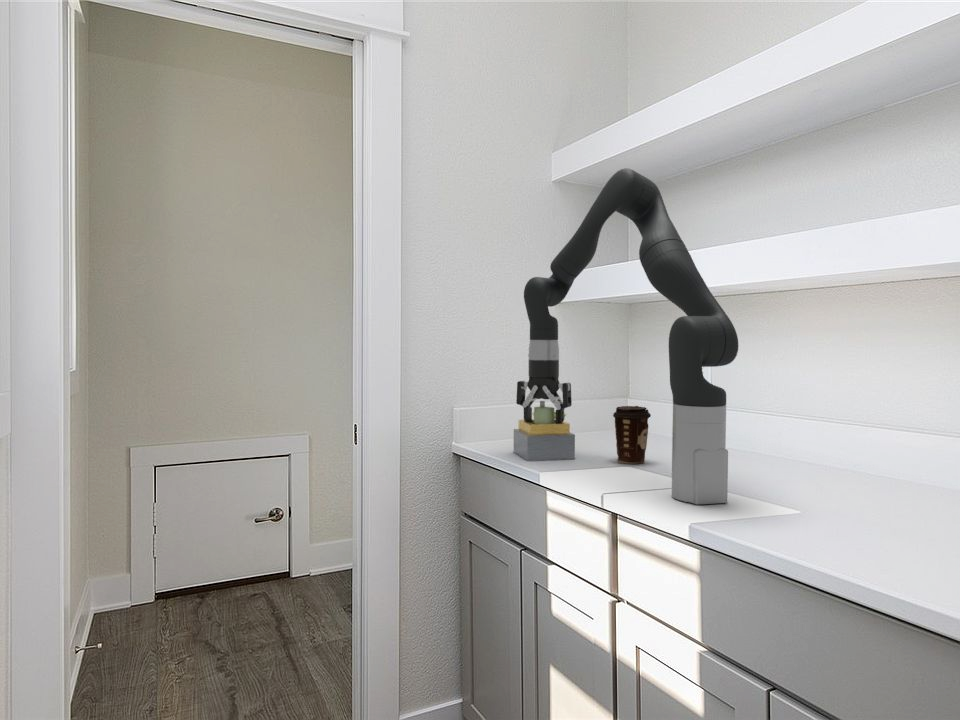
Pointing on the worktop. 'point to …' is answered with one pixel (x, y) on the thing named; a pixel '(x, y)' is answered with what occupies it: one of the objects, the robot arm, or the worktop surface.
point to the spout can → (543, 414)
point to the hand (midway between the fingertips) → (543, 423)
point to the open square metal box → (544, 441)
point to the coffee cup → (631, 433)
